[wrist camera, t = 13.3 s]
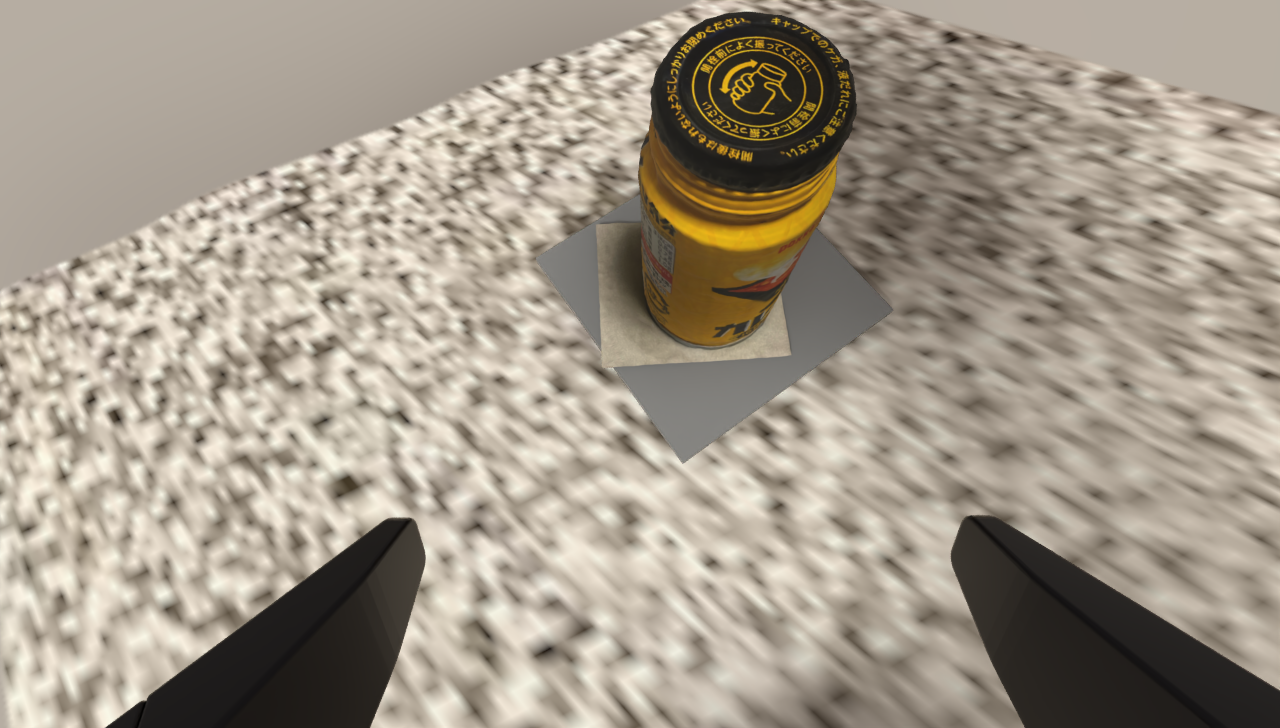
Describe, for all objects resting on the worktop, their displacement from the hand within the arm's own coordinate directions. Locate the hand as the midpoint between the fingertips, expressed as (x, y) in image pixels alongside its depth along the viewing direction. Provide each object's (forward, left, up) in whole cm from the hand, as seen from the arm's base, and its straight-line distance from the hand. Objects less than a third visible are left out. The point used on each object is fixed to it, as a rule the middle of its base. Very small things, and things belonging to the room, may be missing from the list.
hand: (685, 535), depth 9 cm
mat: (+8, -8, -14) cm, 18 cm away
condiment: (+8, -7, -13) cm, 17 cm away
